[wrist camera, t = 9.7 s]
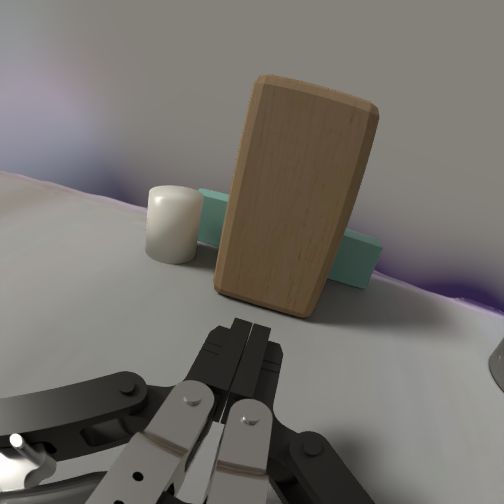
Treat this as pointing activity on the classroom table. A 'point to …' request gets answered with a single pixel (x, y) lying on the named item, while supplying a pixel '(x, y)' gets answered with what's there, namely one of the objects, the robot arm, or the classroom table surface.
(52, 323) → the classroom table surface
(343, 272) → the teal block
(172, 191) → the cream rounded cylinder
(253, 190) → the wooden block
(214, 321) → the classroom table surface
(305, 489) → the robot arm
